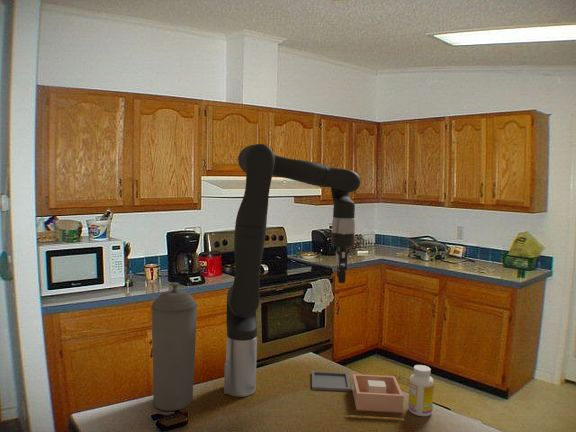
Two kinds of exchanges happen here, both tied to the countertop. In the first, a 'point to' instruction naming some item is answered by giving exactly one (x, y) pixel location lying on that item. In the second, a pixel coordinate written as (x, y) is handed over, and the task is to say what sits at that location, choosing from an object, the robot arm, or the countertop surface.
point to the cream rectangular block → (376, 387)
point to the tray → (330, 381)
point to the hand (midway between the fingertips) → (340, 280)
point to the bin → (377, 394)
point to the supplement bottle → (421, 391)
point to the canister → (173, 349)
